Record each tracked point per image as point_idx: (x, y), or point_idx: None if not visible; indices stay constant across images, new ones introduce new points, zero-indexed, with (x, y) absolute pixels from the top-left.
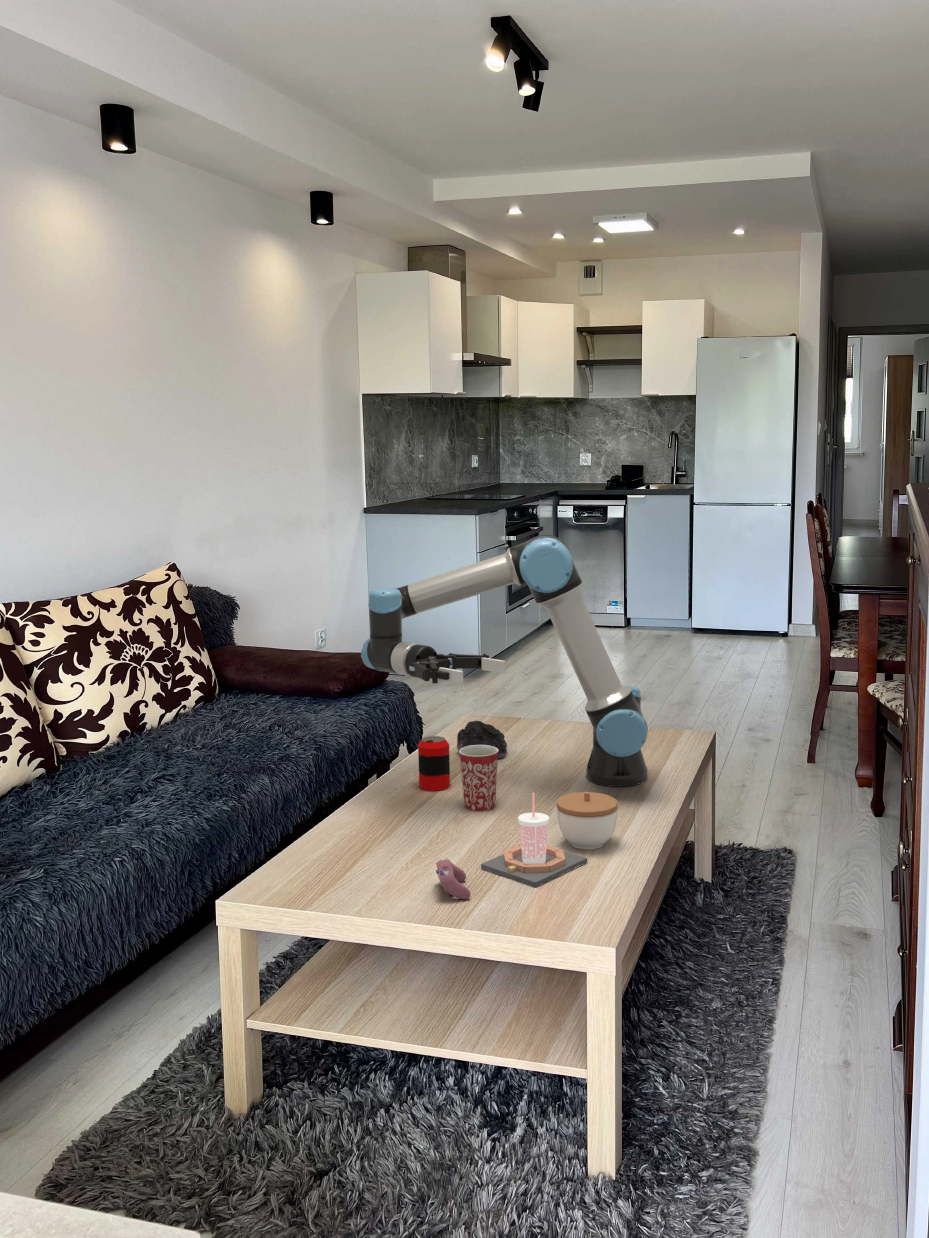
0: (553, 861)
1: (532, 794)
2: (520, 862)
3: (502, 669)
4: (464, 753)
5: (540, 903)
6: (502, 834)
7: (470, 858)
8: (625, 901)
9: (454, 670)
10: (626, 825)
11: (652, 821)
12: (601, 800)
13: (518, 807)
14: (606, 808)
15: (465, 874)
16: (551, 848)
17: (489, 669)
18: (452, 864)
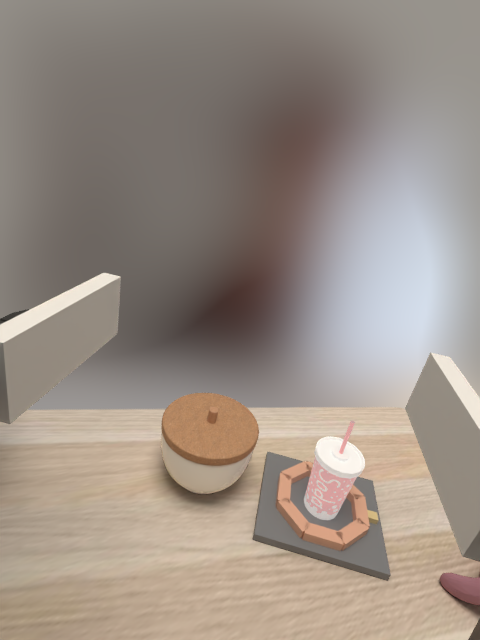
0: None
1: (353, 424)
2: (357, 505)
3: (114, 318)
4: None
5: (396, 469)
6: (228, 626)
7: (371, 625)
8: (327, 410)
9: (464, 382)
10: (108, 445)
11: (82, 422)
12: (202, 406)
13: None
14: (228, 398)
15: (444, 573)
16: (285, 485)
17: (59, 372)
18: (476, 578)
